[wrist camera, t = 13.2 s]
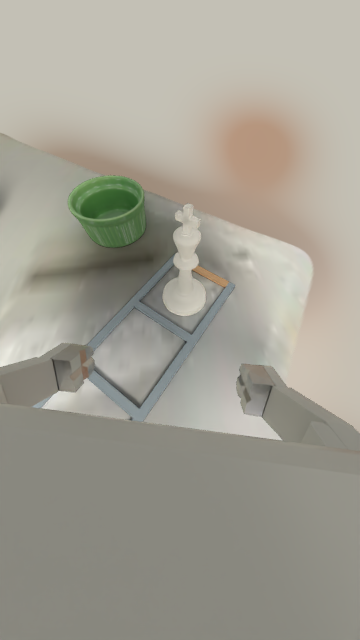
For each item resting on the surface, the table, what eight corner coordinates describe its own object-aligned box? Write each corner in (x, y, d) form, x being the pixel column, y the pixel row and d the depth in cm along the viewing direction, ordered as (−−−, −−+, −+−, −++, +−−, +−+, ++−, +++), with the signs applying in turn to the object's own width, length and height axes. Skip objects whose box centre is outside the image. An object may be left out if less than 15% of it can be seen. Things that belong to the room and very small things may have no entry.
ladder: (-134, 578, 11) (-142, 583, 10) (174, 255, 22) (174, 253, 22) (-69, 731, 8) (-77, 743, 8) (234, 286, 20) (235, 285, 20)
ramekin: (75, 225, 25) (54, 192, 21) (128, 201, 27) (119, 167, 23) (105, 262, 22) (88, 231, 18) (162, 232, 24) (158, 198, 20)
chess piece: (178, 272, 21) (177, 175, 12) (214, 291, 20) (243, 199, 11) (153, 301, 19) (130, 212, 10) (190, 324, 18) (202, 247, 9)
